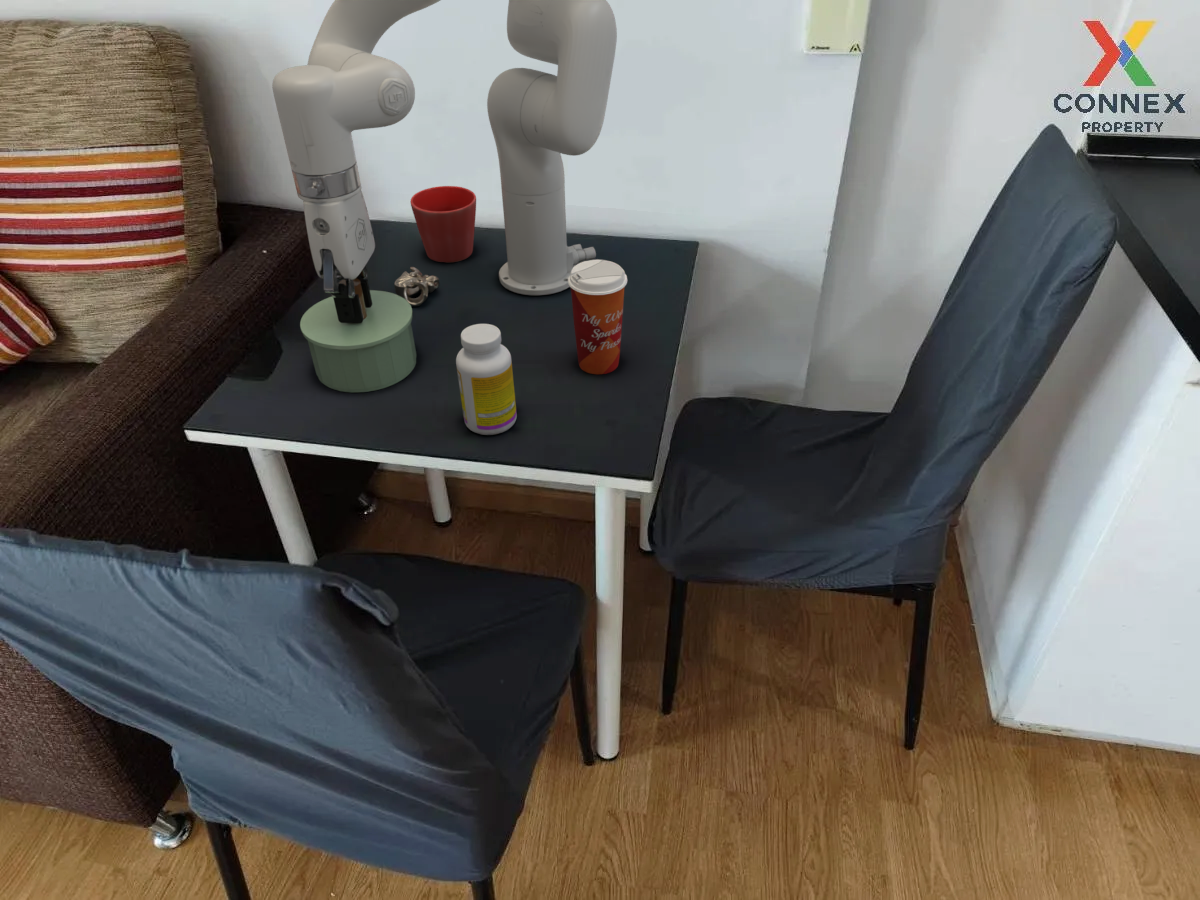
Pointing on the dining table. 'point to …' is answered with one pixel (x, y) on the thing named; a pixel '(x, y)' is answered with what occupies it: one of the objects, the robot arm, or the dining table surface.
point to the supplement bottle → (486, 380)
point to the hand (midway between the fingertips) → (355, 312)
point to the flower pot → (445, 222)
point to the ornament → (415, 286)
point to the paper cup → (597, 313)
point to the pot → (366, 364)
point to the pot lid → (377, 326)
